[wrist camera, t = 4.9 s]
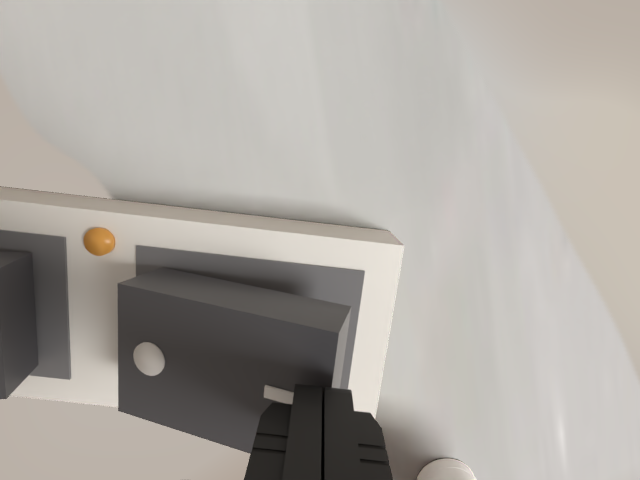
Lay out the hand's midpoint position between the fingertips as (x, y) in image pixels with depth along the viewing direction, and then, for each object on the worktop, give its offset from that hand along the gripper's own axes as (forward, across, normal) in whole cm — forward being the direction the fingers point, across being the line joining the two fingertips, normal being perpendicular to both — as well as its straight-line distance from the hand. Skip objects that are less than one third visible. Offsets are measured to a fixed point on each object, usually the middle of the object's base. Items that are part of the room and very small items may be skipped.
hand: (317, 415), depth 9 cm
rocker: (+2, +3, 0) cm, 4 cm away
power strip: (+7, +11, 0) cm, 13 cm away
